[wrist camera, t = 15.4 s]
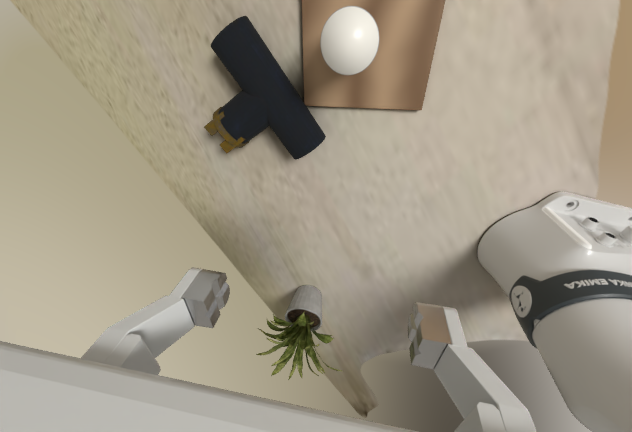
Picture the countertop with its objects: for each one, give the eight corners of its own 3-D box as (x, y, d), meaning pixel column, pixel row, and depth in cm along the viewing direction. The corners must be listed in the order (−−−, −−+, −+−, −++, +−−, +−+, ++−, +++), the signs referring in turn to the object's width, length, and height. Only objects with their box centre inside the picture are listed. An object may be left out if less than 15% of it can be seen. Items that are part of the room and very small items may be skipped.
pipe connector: (253, 188, 37) (165, 87, 31) (264, 171, 41) (189, 79, 35) (323, 144, 32) (236, 15, 26) (327, 130, 37) (253, 16, 30)
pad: (455, -54, 25) (457, -56, 24) (420, 108, 33) (421, 110, 32) (302, -50, 26) (300, -51, 26) (305, 103, 34) (304, 105, 34)
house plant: (343, 265, 50) (334, 352, 37) (354, 312, 57) (350, 399, 44) (270, 269, 53) (239, 350, 40) (290, 313, 61) (269, 393, 48)
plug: (378, 9, 27) (383, 5, 19) (373, 61, 30) (375, 75, 22) (334, 10, 28) (320, 6, 20) (332, 60, 31) (320, 75, 23)
